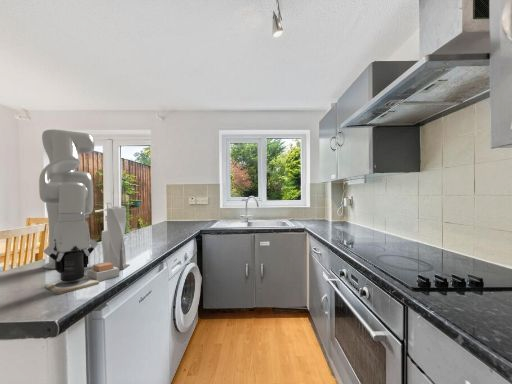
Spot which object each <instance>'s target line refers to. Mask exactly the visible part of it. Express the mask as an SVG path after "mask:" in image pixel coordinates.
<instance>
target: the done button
mask: <svg viewBox="0 0 512 384" xmlns="http://www.w3.org/2000/svg"><path fill="white" fill-rule="evenodd" d="M92 269H93V270H94V271H97V272H102V271H106V270H111V269H113V264H112V263H109V262H100V263H97V264H96V263H95V264H92Z"/></svg>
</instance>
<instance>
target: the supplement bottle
mask: <svg viewBox="0 0 512 384" xmlns="http://www.w3.org/2000/svg"><path fill="white" fill-rule="evenodd" d="M77 249H79V248H77V246H75V247H73V249H71V250H73V251H70V252H65V253H64V255H63V257H62V258H61V261H63V272H62V273H59V274H60V277H59V278H60V281H74V280H78V279H81V278H83V277H84V276H85V268H84V252H83V251H81V250H77Z"/></svg>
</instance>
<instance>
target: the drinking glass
mask: <svg viewBox="0 0 512 384" xmlns="http://www.w3.org/2000/svg"><path fill="white" fill-rule="evenodd" d="M109 241H110V240H109V236H108V230H107V229H104V230H102V231H101V246H102V247H101V248H102V257H103V260H102V261H103V262H102V263H104V262H108V251H109Z"/></svg>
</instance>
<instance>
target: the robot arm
mask: <svg viewBox="0 0 512 384" xmlns="http://www.w3.org/2000/svg"><path fill="white" fill-rule="evenodd" d="M41 141H42V144H43V148H44V150H45V153H46V155H47V157H48V160H49V163H48V164H46V166H45V167H44V168H42V170H41V172H40V174H39V179H38V185H39V186H38V191H39V199H40V200H41V201H42V202H43V203H45V207H46V213H47V218H48V219H47V220H48V246H47V247H46V248H45V249H44V250H43V253H44V254H45V255H47V256H48V262H47V263H45V264H44V269H48V270H55V271H56V273H59V274H60V273H62V272H63V261H61V258H62V257H63V255H64V253H65V252H70V251H73V250H71V249H73V247H75V246H77V248H79V249H77V250H81V251H83V252H84V269H86V268H88V265H89V261H90V260H89V256H91V254H92V253H93V251H94V250H95V248H97V246H98V245H99V244H98V242H96V240H94V239H92V238H91V234H90V229H89V222H88V220H86V219H87V218H90V214H91V213H93V210H94V184H93V183H94V182H93V177H92V175H91V174H90V173H89V172H87V171H83V170H75V169H77V168H79V166H80V164H81V160H80V154H81V153H82V154H92V153H93V152H94V150H95V139H94V137H93V136H92V135H91V134H89V133H86V132H79V131H78V132H77V131H71V130H66V129H65V130H63V129H55V128H53V129H46V130H44V131H43V132H42V135H41Z"/></svg>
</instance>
